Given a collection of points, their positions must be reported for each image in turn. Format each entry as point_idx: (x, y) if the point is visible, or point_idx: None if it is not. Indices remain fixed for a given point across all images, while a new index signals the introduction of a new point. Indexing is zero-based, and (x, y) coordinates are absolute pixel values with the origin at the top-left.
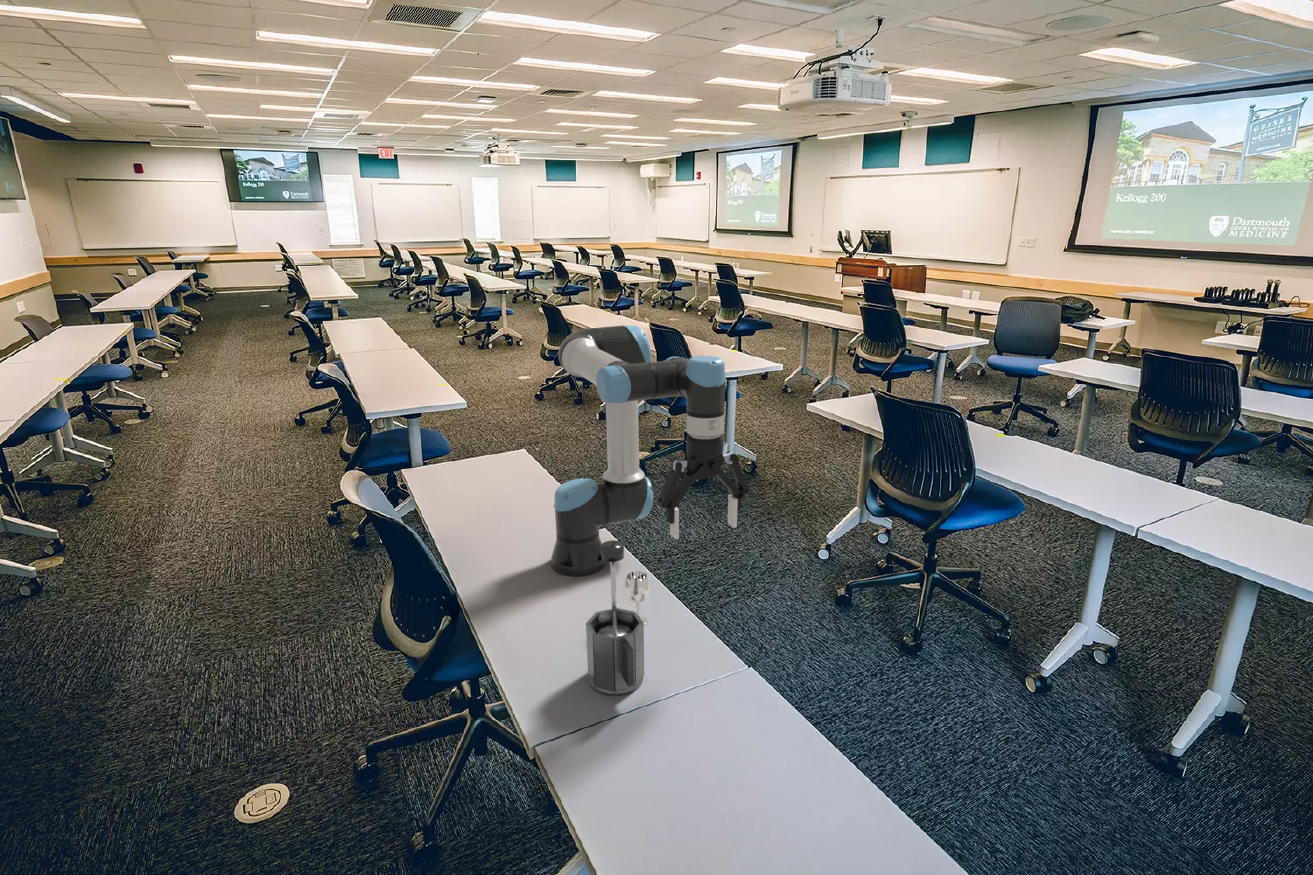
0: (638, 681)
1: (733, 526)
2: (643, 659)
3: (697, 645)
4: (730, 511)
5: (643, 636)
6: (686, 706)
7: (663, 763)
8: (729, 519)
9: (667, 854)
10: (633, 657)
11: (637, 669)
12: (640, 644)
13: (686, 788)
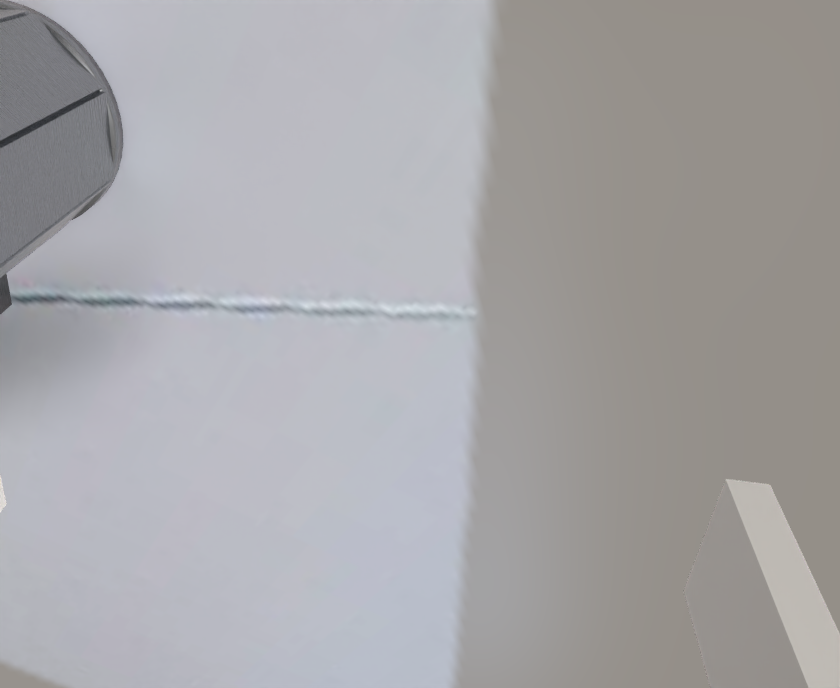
0: (73, 217)
1: (689, 596)
2: (77, 208)
3: (422, 91)
4: (759, 683)
5: (22, 251)
6: (208, 367)
7: (66, 497)
8: (730, 562)
9: (8, 650)
10: None
11: (40, 244)
12: (10, 264)
13: (95, 570)
